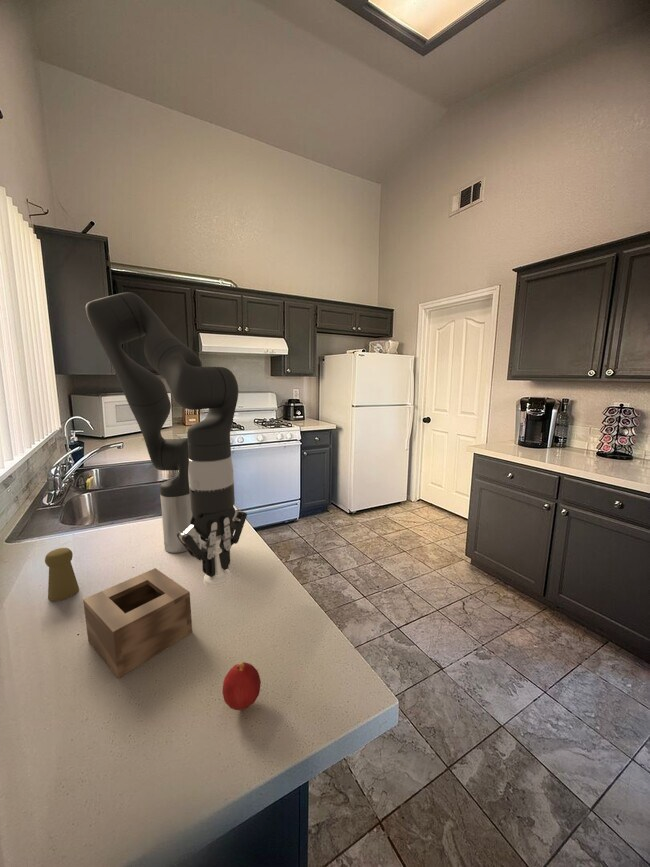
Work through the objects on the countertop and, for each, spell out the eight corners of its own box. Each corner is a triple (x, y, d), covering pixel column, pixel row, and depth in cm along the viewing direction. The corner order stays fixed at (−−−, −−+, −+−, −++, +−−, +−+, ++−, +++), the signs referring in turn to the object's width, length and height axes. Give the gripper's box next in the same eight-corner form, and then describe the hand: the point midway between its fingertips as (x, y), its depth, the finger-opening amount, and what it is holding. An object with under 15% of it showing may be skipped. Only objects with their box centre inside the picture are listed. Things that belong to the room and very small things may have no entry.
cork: (62, 602, 80) (56, 558, 78) (41, 599, 81) (34, 555, 79) (85, 587, 86) (80, 545, 84) (65, 584, 87) (59, 543, 85)
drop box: (158, 604, 79) (155, 568, 78) (192, 632, 71) (189, 591, 69) (88, 640, 69) (83, 599, 67) (118, 678, 60) (113, 631, 59)
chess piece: (236, 574, 66) (234, 525, 64) (220, 589, 62) (217, 536, 60) (214, 569, 68) (211, 521, 66) (197, 584, 63) (194, 532, 61)
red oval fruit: (227, 691, 58) (225, 648, 56) (262, 688, 58) (261, 646, 57) (220, 726, 52) (217, 679, 51) (259, 723, 52) (257, 676, 51)
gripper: (231, 469, 69) (234, 550, 72) (162, 487, 58) (170, 581, 61) (256, 476, 64) (259, 562, 68) (187, 497, 54) (194, 598, 57)
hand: (216, 571), depth 64 cm, fingers closed on chess piece, 2 cm apart
